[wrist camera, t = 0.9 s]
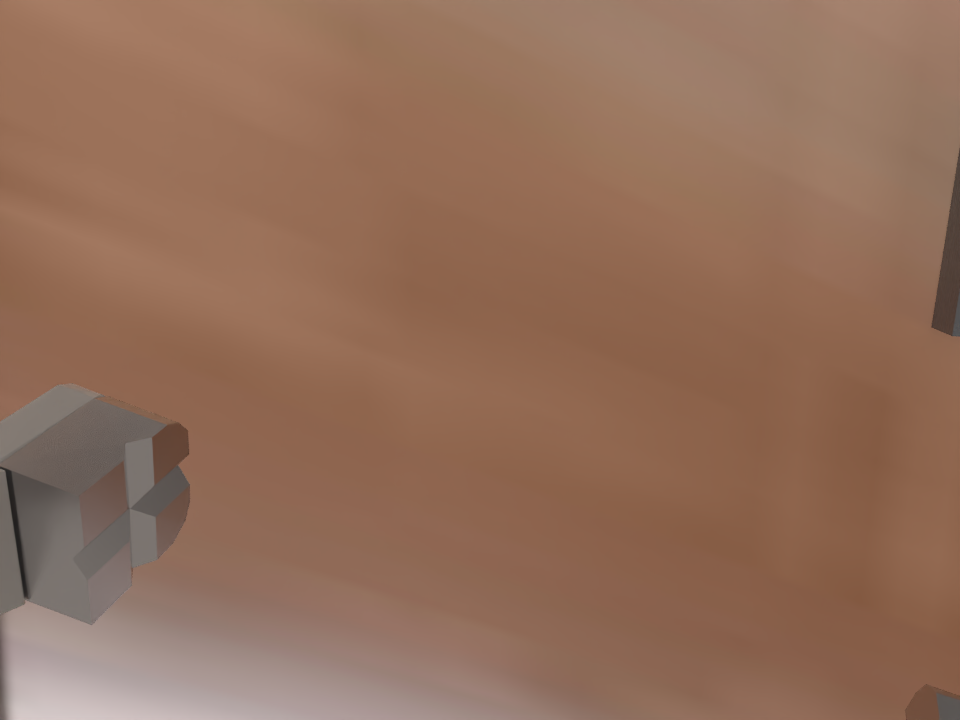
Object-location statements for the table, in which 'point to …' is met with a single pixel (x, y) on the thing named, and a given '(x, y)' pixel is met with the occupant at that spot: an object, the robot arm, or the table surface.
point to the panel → (950, 270)
